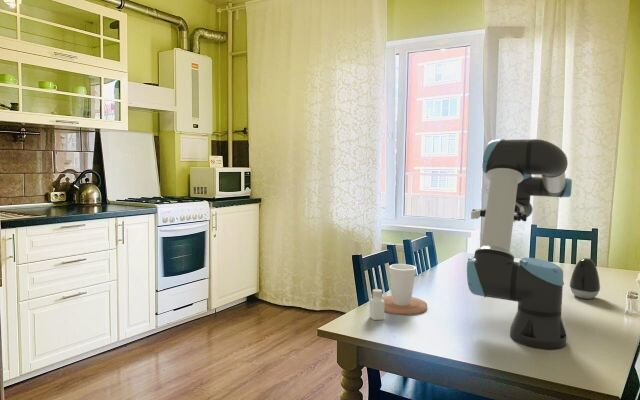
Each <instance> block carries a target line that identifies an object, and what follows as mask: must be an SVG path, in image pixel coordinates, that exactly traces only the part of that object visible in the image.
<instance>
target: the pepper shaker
mask: <svg viewBox="0 0 640 400" xmlns="http://www.w3.org/2000/svg"><path fill="white" fill-rule="evenodd" d="M371 296H372V298H370V299H369V317H370V318H371V319H372V320H373V321H380V320H384V319H385V312H384V305H385V302H384V300H383V299H382V297H383V289H380V288H374V289H372V295H371Z"/></svg>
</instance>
